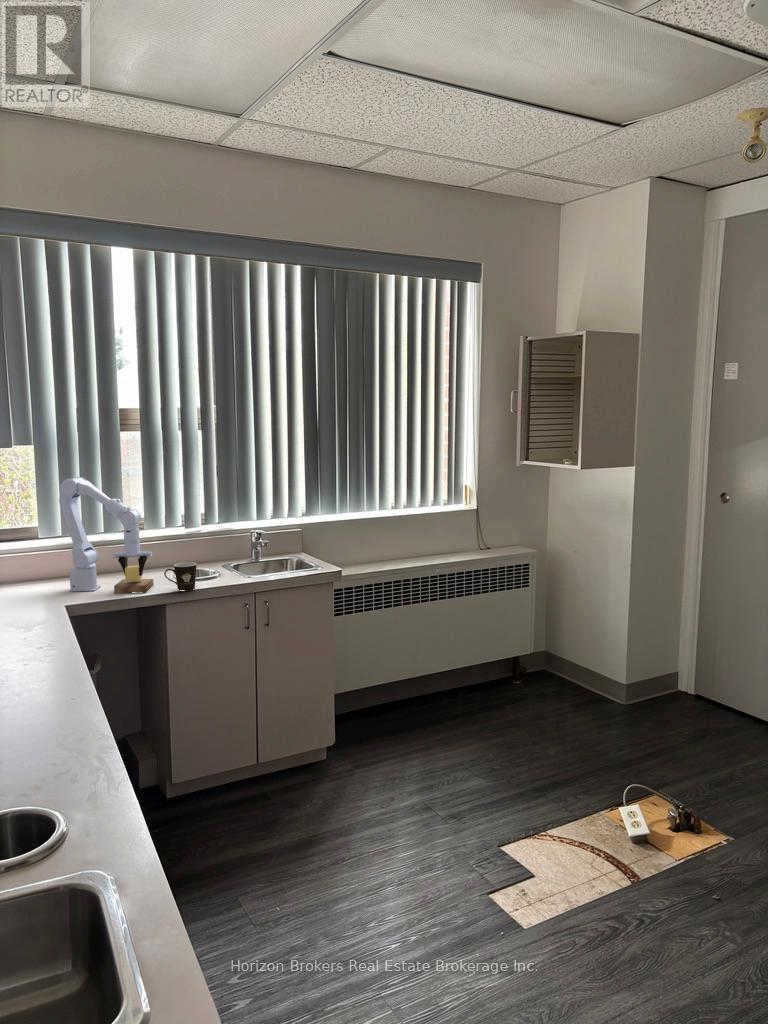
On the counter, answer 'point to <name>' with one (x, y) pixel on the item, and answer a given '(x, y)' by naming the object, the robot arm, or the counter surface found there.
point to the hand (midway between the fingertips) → (133, 575)
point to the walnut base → (133, 586)
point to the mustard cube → (132, 573)
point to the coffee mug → (184, 575)
